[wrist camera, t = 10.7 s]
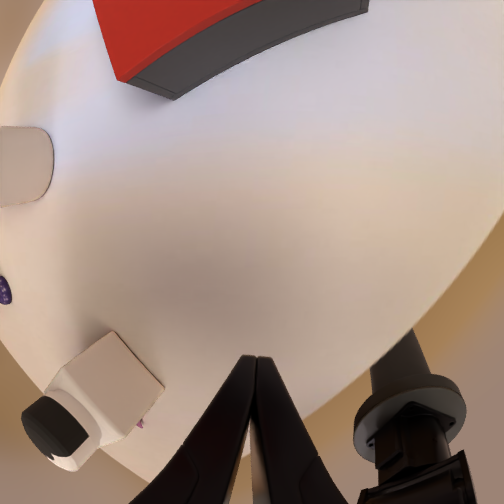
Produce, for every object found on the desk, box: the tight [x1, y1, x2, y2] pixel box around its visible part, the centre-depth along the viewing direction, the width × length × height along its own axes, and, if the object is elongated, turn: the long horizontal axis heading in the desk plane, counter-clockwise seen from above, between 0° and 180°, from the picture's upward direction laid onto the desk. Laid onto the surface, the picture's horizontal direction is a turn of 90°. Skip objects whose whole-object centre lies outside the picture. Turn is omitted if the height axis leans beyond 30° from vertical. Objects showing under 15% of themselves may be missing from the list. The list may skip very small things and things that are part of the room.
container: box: [21, 331, 165, 471], centre depth 21 cm, size 8×8×13 cm
